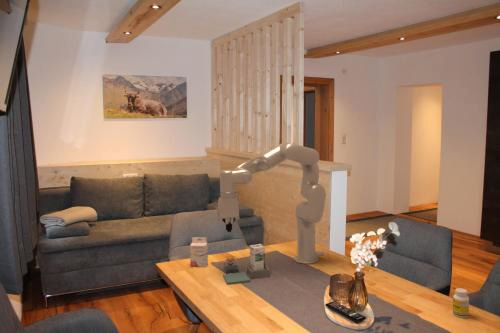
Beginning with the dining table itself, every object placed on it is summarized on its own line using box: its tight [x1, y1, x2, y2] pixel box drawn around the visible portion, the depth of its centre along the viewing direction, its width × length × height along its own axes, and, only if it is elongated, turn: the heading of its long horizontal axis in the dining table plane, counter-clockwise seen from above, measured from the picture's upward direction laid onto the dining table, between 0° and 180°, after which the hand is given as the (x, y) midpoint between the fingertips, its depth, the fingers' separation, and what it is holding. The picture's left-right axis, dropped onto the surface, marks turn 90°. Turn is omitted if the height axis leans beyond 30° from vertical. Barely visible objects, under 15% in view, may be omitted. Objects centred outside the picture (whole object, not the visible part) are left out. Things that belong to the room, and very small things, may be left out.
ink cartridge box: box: [189, 236, 209, 268], centre depth 225 cm, size 9×5×15 cm, turn 84°
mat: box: [222, 271, 251, 286], centre depth 205 cm, size 11×11×1 cm
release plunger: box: [225, 255, 235, 265], centre depth 215 cm, size 4×4×6 cm
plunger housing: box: [223, 260, 239, 274], centre depth 215 cm, size 6×6×4 cm
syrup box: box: [249, 243, 266, 271], centre depth 210 cm, size 6×6×14 cm
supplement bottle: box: [452, 287, 470, 319], centre depth 162 cm, size 5×5×10 cm
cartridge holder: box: [246, 264, 271, 280], centre depth 210 cm, size 9×9×4 cm
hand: (229, 231), depth 213 cm, fingers closed
